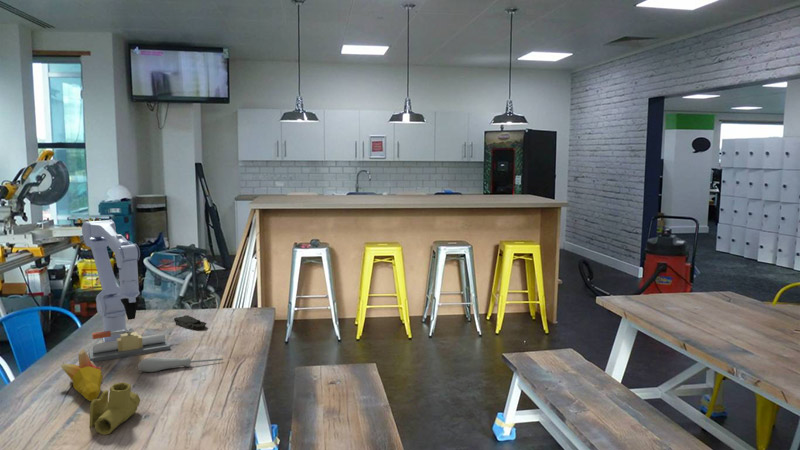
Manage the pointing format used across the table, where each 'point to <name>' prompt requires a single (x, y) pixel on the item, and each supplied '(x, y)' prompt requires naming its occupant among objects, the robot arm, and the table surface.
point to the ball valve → (113, 408)
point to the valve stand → (128, 346)
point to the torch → (85, 376)
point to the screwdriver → (166, 363)
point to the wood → (190, 323)
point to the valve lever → (110, 333)
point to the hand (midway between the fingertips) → (131, 318)
